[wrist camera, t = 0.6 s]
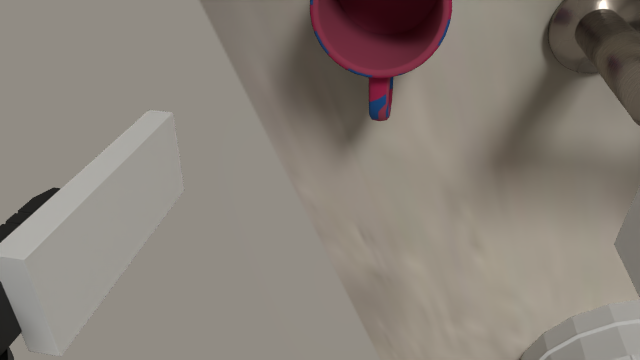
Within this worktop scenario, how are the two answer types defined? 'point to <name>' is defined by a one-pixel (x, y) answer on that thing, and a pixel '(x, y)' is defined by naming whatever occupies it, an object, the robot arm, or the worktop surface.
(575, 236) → the worktop surface
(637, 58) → the rail
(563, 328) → the dish
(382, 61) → the mug
